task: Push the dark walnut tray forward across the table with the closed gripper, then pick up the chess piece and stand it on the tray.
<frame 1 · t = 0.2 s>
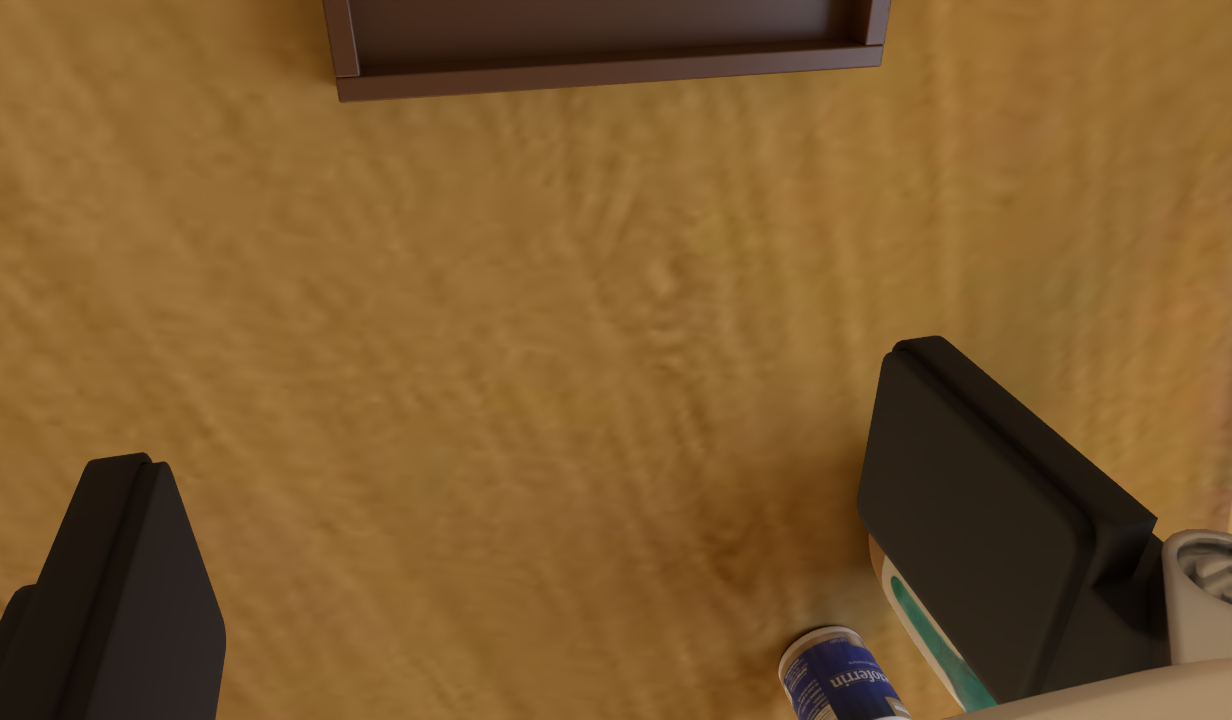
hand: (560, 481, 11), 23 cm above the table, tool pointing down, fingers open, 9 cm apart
vase: (922, 490, 49), on the table
pill bottle: (816, 652, 54), on the table
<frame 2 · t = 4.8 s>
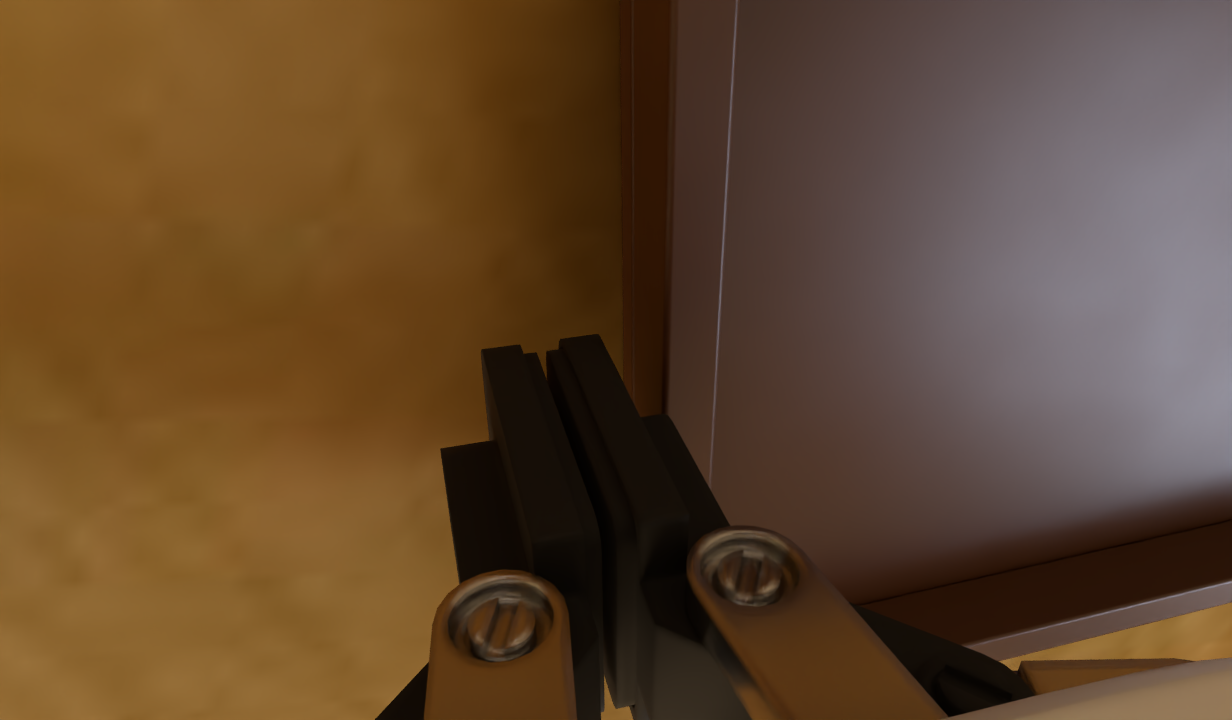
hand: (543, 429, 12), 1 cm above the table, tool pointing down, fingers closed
tray: (1140, 290, 16), on the table, touching gripper
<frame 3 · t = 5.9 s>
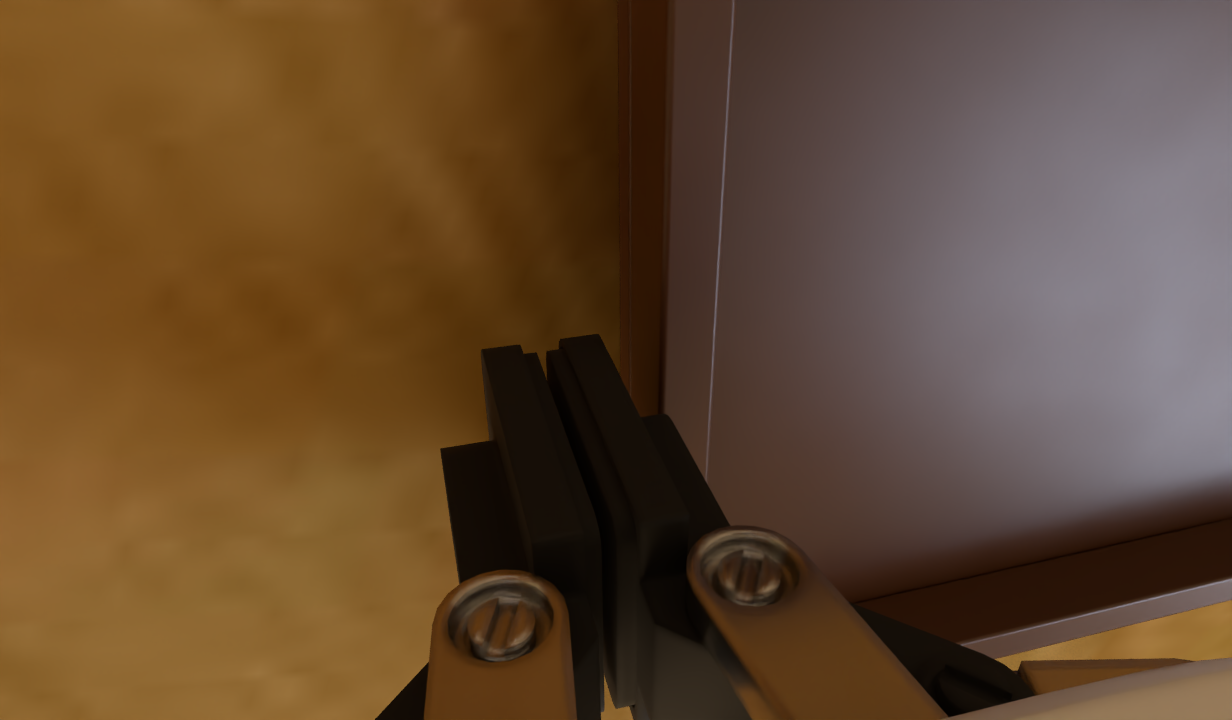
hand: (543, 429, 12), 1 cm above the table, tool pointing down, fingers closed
tray: (1134, 290, 16), on the table, touching gripper
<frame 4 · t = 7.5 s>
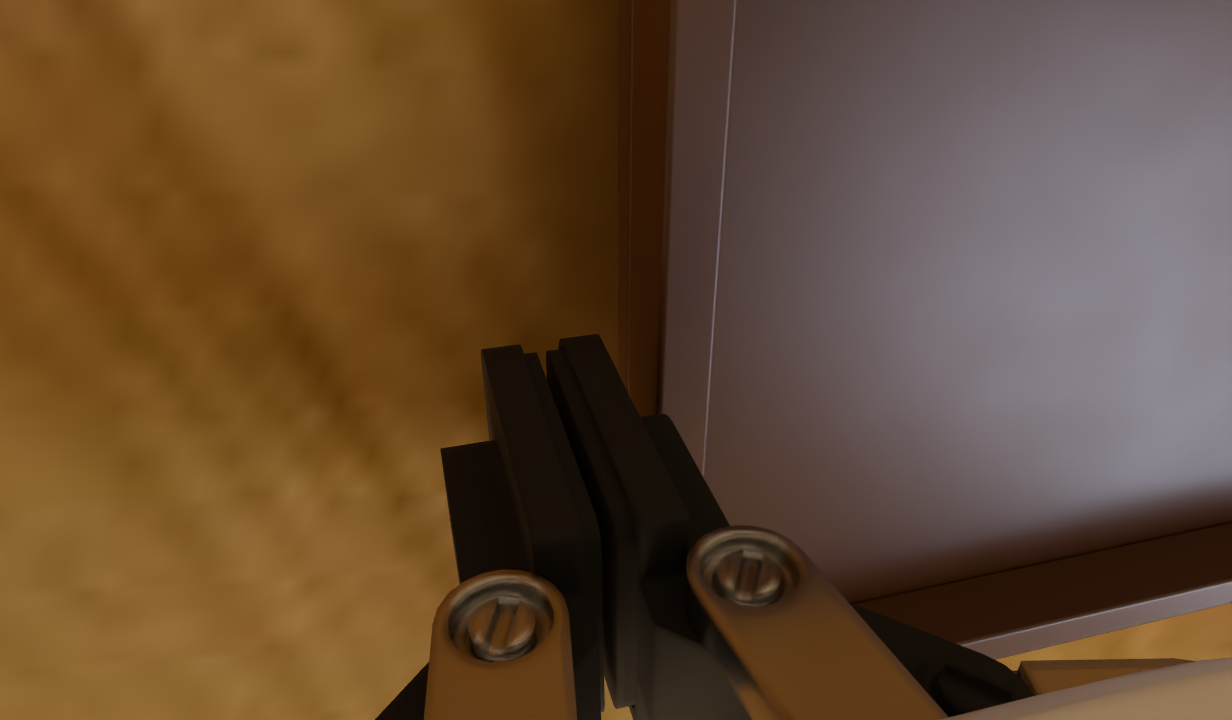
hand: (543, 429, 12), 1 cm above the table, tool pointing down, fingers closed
tray: (1130, 295, 16), on the table, touching gripper
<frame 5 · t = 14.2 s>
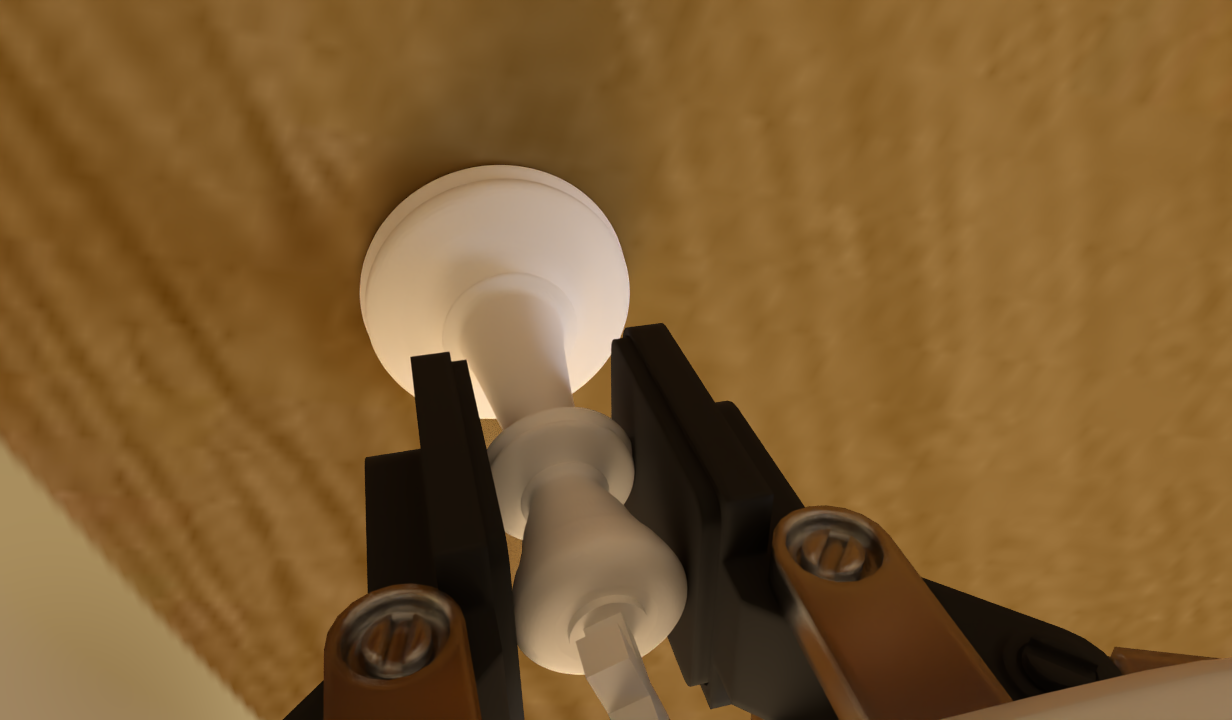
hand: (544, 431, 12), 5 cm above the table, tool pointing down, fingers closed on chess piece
chess piece: (495, 287, 16), on the table, touching gripper
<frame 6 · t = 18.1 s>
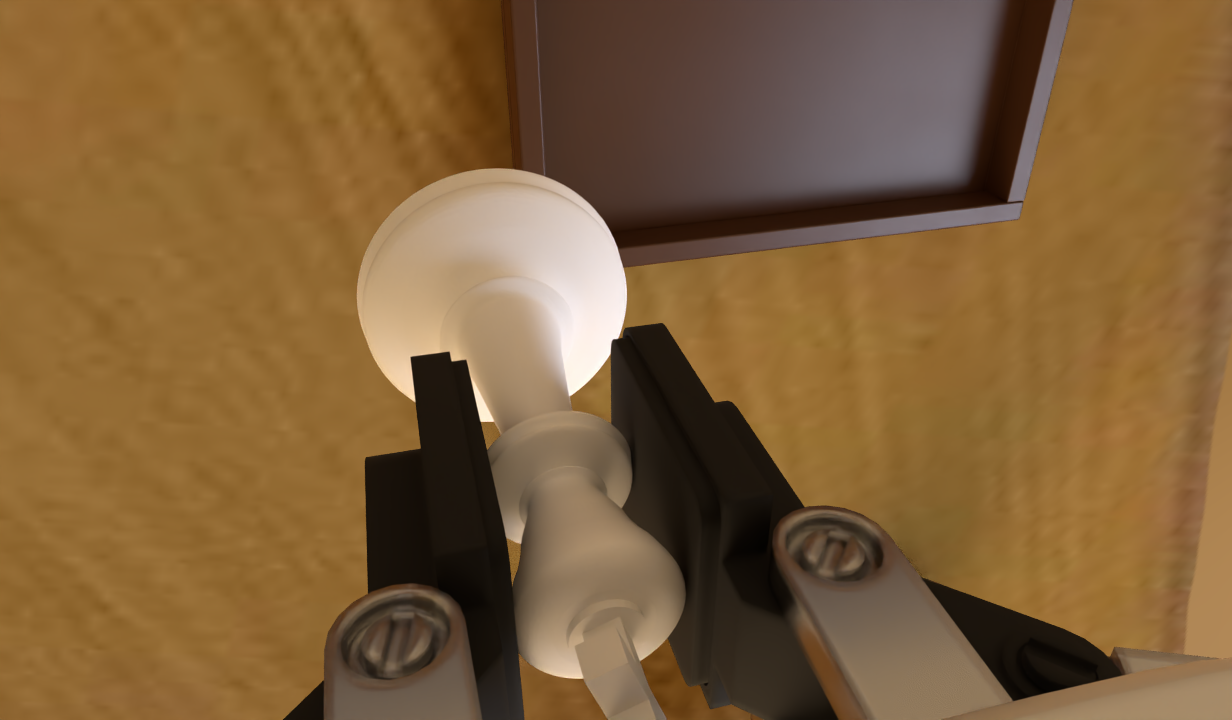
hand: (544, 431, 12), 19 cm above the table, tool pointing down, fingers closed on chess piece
tray: (783, 45, 30), on the table
chess piece: (493, 291, 16), point 14 cm above the table, touching gripper
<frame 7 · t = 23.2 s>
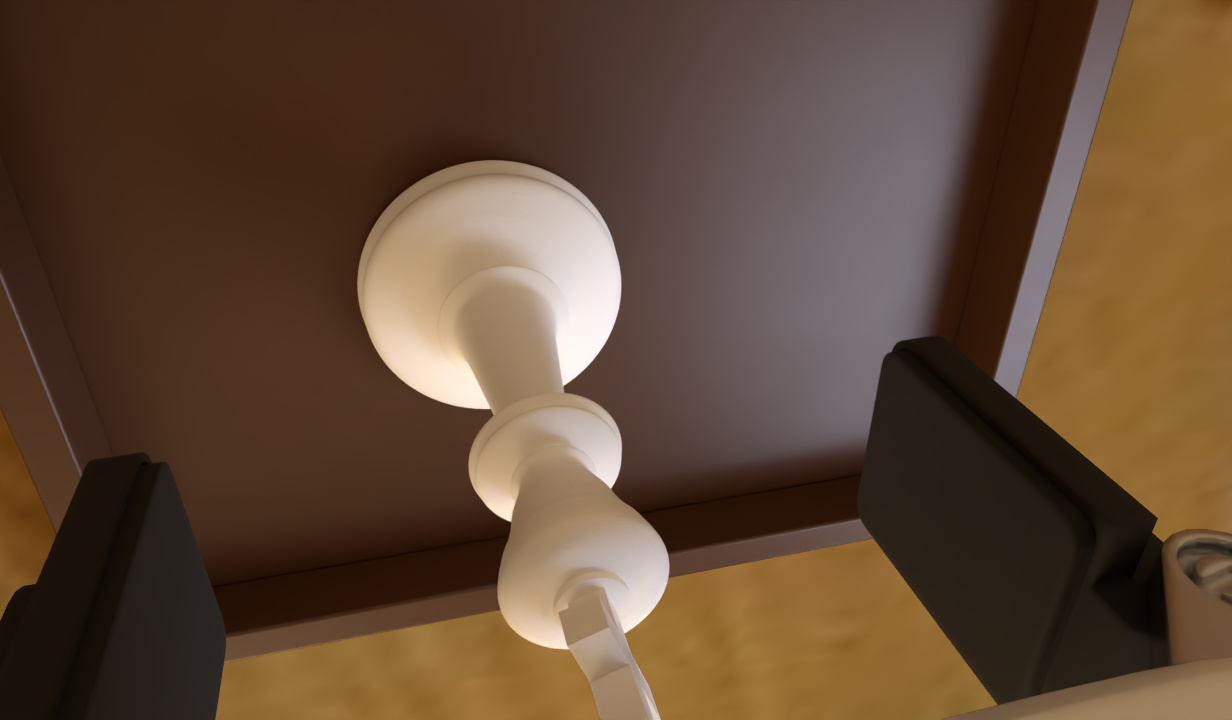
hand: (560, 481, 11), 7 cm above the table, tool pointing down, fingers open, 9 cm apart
tray: (572, 278, 17), on the table, touching chess piece
chess piece: (490, 280, 17), resting on tray
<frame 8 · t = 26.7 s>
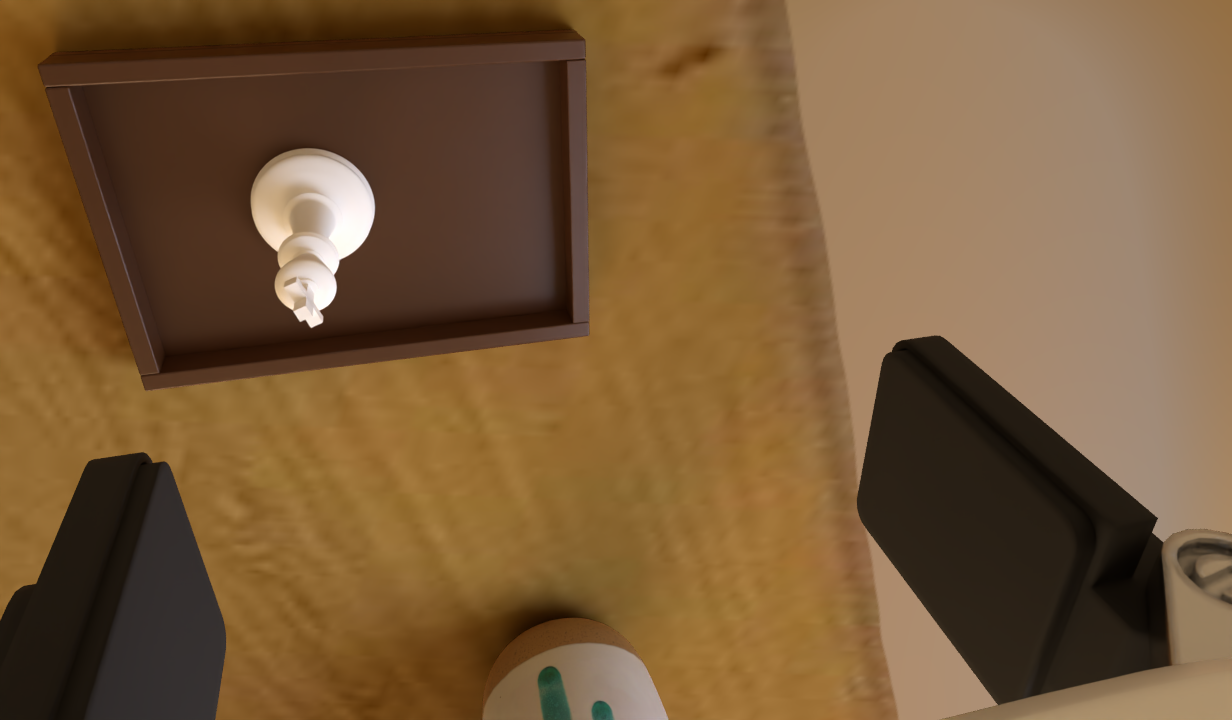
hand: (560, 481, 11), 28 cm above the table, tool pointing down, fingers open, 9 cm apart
tray: (356, 204, 37), on the table, touching chess piece
vase: (553, 646, 55), on the table
chess piece: (314, 203, 36), resting on tray
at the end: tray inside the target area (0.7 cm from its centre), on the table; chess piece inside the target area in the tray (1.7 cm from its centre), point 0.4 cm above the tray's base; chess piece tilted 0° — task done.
